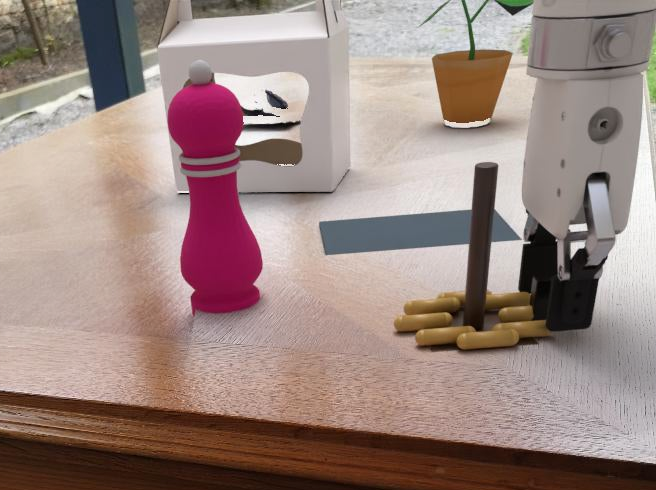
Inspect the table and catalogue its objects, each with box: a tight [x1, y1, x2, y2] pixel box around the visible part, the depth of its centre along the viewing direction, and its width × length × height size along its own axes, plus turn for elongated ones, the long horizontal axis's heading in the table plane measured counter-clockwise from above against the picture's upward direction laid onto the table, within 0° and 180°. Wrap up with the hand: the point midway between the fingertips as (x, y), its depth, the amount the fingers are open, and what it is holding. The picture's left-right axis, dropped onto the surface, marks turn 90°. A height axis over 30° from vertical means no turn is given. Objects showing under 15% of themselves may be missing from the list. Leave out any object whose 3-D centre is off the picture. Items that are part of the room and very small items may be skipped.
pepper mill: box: [166, 60, 264, 317], centre depth 65 cm, size 7×7×20 cm
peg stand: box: [428, 161, 539, 353], centre depth 58 cm, size 8×8×13 cm
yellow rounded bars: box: [393, 274, 558, 350], centre depth 61 cm, size 14×9×3 cm
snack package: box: [241, 89, 289, 117], centre depth 140 cm, size 12×6×12 cm
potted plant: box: [418, 0, 534, 123], centre depth 121 cm, size 18×19×30 cm
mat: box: [318, 208, 523, 256], centre depth 82 cm, size 20×18×1 cm
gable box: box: [156, 0, 351, 193], centre depth 101 cm, size 22×13×28 cm, turn 76°
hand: (552, 307), depth 61 cm, fingers closed on yellow rounded bars, 6 cm apart
